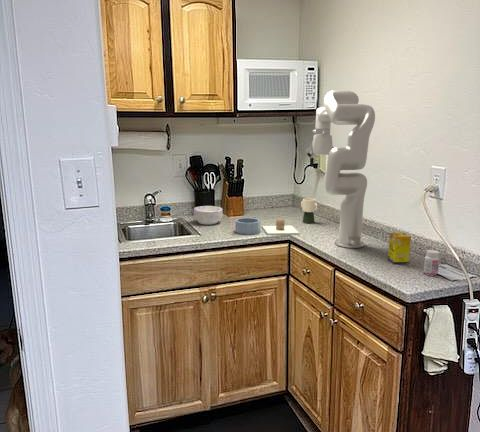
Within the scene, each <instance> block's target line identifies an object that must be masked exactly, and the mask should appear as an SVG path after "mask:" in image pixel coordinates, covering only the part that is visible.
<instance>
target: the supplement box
mask: <svg viewBox="0 0 480 432" xmlns="http://www.w3.org/2000/svg"><path fill="white" fill-rule="evenodd" d="M388 241H389V242H388V253H387V254H388V255H387V260H388V261H390V262H391V263H392V264H393V265H408V264H410V262H409V261H410V253H411V252H410V249H411V241H412V236H410V235H409V234H407V233H405V232H390V233H389V240H388Z"/></svg>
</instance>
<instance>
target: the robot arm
mask: <svg viewBox="0 0 480 432" xmlns="http://www.w3.org/2000/svg"><path fill="white" fill-rule="evenodd" d="M359 101H360V99H359V95H358V94H357V93H356V92H354V91H351V90H330V91H328V92H327V93H326V94H325V96H324V101H323V106H320V107H317V108H316V112H315V128H314V129H312V133H313V139H312V143H311V146H309V147H308V148H306V149H305V150H304V151H305V153H306V156H307V157H309V164H310V166H312V167H314V164H315V163H314V162H315V160H314V157H315V156H316V155H317V156H318V155H319V156H327V155H328V156H327V164H326V172H325V185H324V186H325V187H324V188H325V190H326V191H325V192H326V193H327V194H329V195H330V196H331V195H332V196H345V197H344V198H343V199H342V201H341V202H340V211H339V225H338V226H339V228H338V230H339V231H338V238H337V239H336V240H334V244H335V245H337V246H338V247H342V248H347V249H351V248H352V249H356V248H357V249H358V248H363V247H364V246H365V242H364V241H363V240H362V229H363V228H362V227H363V218H364V217H363V213H364V201H365V196H366V191H367V188H368V179H367V176H366V175H365V174H363V173H361V172H341V171H359V170H362V169H364V168H365V166H366V164H367V160H368V159H367V158H368V152H369V151H368V150H369V143H370V142H369V141H370V136H371V133H372V131H373V128H374V126H375V120H376V112H375V109H374V108H373V106H371V105H369V104H363V103H359ZM332 123H333V124H334V125H337V126H342V125H343V126H346V125H347V126H348V125H349V126H352V125H353V126H354V127H353V128H352V129H351V131H350V132H349V134H348V135H347V144H346V146H345V147H343V146H340V147H339V146H338V147H337V146H336V147H334V146H333V136H332V135H331V124H332ZM310 151H311V153H310Z"/></svg>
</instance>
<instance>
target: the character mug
mask: <svg viewBox="0 0 480 432" xmlns="http://www.w3.org/2000/svg"><path fill="white" fill-rule="evenodd" d="M300 207H301V209H302V212H304V213H303V217H302V223H304V224H314V223H315V215H314V212H316V211H318V210H319V205H318V203H317V199H316V198H308V197H307V198H305V197H304V198H303V199H302V201H301V202H300Z"/></svg>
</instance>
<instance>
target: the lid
mask: <svg viewBox="0 0 480 432" xmlns="http://www.w3.org/2000/svg"><path fill="white" fill-rule="evenodd" d="M285 219H286V218H280V217H279V218H276V220H275V221H276V222H275V225H262V228H263V229H264V231H265V232H266V233H267V235H266V236H289V235H288V234H300V232H299V231H298V230H297V229H296V228H295V227H294V226H293V225H285ZM262 228H261V229H262ZM263 229H262V230H263ZM264 231H263V232H264ZM265 232H264V233H265Z"/></svg>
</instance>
